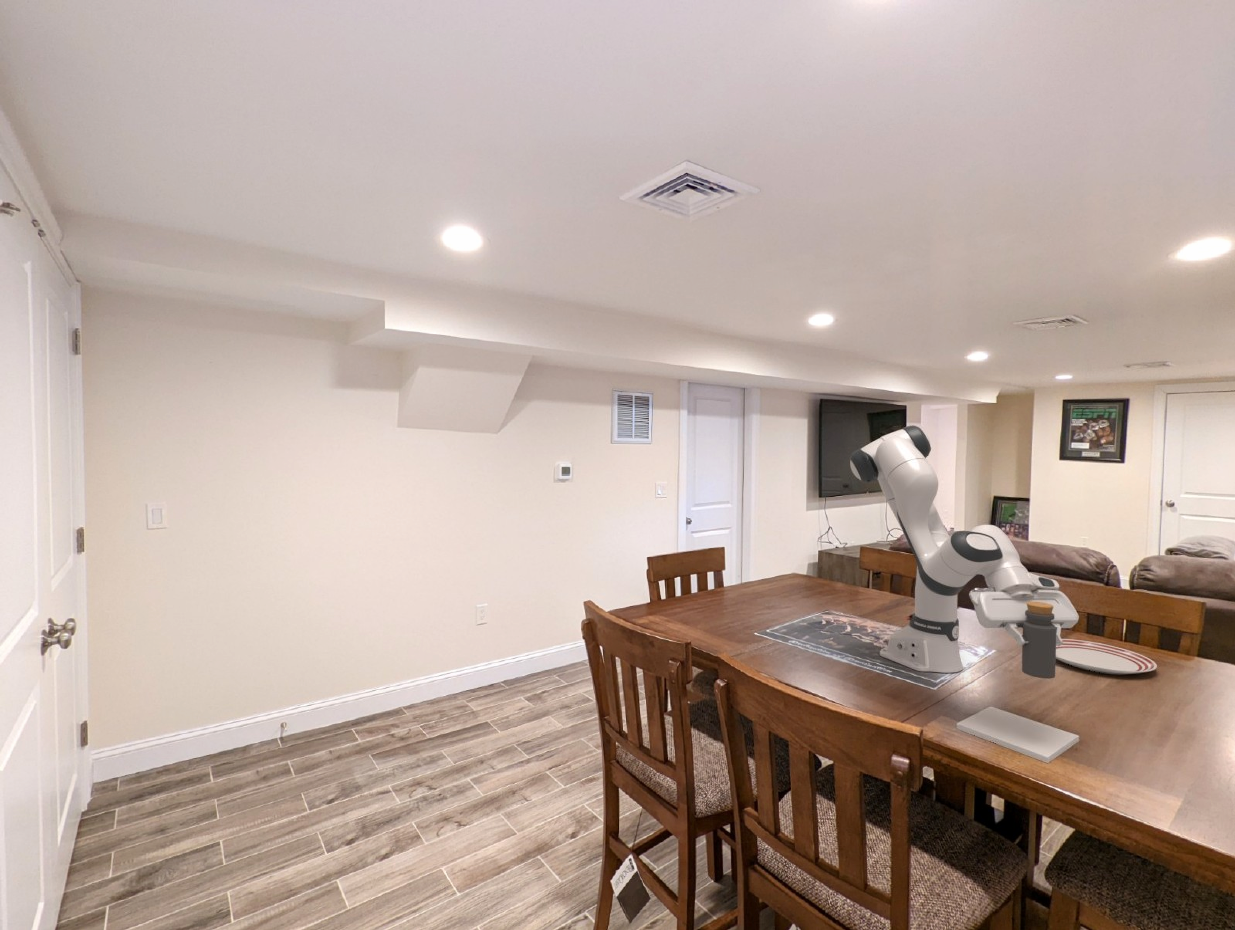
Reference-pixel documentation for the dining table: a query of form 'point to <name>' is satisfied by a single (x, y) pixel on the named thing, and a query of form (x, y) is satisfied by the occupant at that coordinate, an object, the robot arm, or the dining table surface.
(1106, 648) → the dinner plate
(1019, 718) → the grey board
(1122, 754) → the dining table surface
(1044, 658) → the bottle
